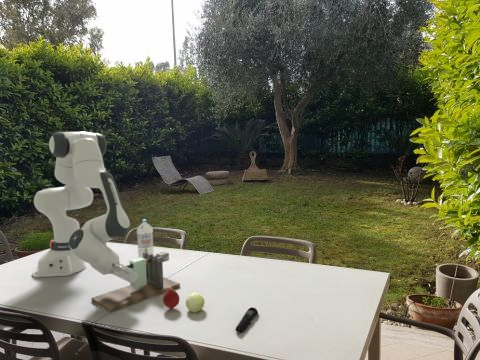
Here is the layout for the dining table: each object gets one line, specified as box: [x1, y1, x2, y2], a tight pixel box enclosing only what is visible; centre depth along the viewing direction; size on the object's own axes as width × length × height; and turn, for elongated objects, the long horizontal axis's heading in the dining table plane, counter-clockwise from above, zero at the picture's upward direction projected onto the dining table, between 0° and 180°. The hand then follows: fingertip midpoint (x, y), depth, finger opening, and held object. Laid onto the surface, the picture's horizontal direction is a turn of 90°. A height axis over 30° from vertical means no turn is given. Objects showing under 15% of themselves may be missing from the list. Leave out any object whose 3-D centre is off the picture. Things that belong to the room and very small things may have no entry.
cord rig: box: [90, 251, 181, 314], centre depth 155 cm, size 31×14×14 cm, turn 137°
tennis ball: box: [185, 292, 205, 313], centre depth 141 cm, size 6×7×7 cm
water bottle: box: [136, 218, 155, 258], centre depth 176 cm, size 7×7×25 cm
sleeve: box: [128, 257, 147, 288], centre depth 156 cm, size 5×4×10 cm
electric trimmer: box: [235, 307, 259, 333], centre depth 131 cm, size 4×16×3 cm, turn 159°
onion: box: [162, 287, 181, 310], centre depth 142 cm, size 6×6×8 cm
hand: (131, 280), depth 154 cm, fingers closed, pressing on sleeve
